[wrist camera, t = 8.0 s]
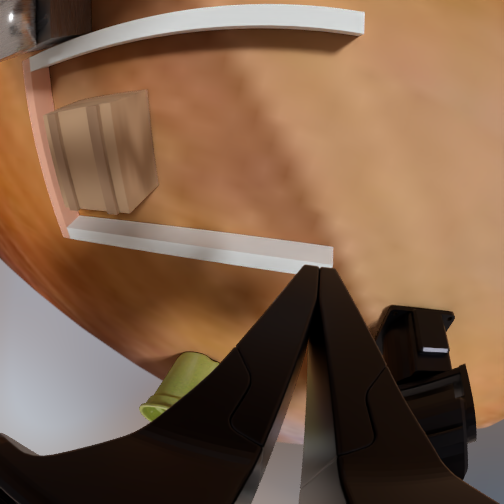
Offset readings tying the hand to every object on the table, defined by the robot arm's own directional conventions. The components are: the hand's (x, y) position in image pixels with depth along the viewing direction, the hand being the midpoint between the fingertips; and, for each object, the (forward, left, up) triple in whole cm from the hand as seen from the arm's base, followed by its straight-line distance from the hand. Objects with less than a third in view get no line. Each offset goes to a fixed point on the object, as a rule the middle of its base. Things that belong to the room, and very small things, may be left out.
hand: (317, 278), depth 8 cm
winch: (+12, +18, -11) cm, 25 cm away
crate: (0, +14, -11) cm, 18 cm away
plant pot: (-27, +10, -12) cm, 31 cm away
